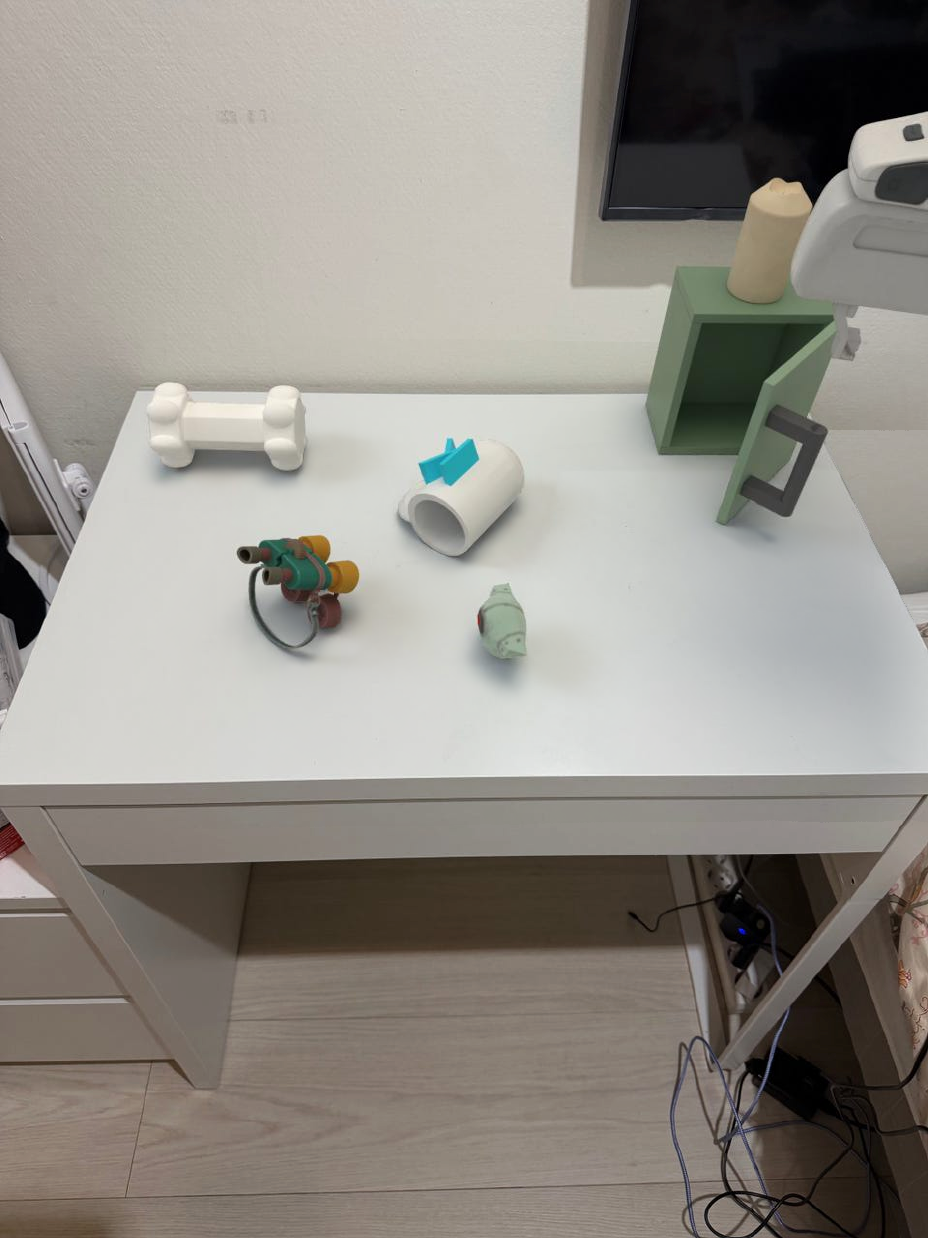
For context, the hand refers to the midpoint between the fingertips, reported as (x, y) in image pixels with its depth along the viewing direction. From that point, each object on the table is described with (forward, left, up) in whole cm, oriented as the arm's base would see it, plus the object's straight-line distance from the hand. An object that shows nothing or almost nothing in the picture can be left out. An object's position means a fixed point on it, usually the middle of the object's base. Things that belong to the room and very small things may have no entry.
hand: (908, 365), depth 61 cm
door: (+2, -13, -25) cm, 28 cm away
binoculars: (+44, +14, -25) cm, 53 cm away
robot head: (+26, +14, -25) cm, 39 cm away
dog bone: (+59, -5, -25) cm, 64 cm away
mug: (+34, -3, -25) cm, 43 cm away
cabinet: (+9, -23, -25) cm, 36 cm away
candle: (+9, -23, -8) cm, 26 cm away
